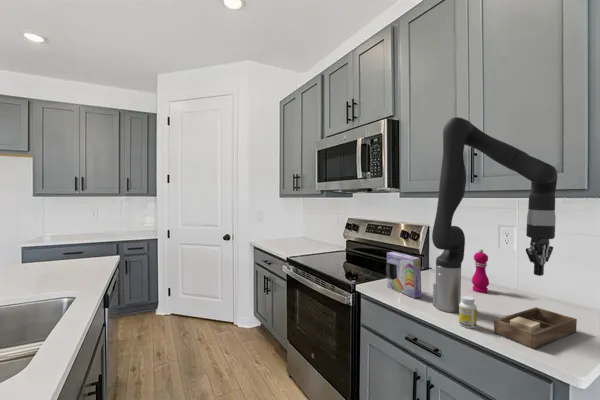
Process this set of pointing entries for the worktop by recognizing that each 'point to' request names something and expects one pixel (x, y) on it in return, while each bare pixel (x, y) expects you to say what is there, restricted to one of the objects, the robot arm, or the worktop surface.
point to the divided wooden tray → (550, 331)
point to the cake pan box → (404, 274)
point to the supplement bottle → (467, 312)
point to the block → (525, 324)
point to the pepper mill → (480, 273)
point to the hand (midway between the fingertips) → (538, 275)
